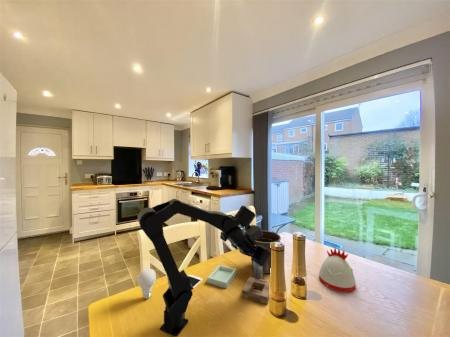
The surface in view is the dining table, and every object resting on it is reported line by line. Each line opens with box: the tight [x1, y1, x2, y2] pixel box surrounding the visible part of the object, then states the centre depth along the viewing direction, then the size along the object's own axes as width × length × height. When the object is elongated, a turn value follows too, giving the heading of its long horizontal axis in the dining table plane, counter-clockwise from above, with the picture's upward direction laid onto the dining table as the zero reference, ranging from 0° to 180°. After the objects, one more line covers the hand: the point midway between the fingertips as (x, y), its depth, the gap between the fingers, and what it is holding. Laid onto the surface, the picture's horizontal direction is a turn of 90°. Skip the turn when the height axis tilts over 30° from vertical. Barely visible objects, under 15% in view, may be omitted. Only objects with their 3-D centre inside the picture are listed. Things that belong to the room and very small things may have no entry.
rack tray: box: [206, 264, 238, 289], centre depth 88 cm, size 12×9×2 cm
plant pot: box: [250, 230, 282, 275], centre depth 97 cm, size 16×16×16 cm
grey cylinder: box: [252, 245, 263, 280], centre depth 78 cm, size 4×4×12 cm
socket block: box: [241, 276, 270, 305], centre depth 78 cm, size 10×10×2 cm
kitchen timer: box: [318, 247, 356, 293], centre depth 86 cm, size 14×14×15 cm
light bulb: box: [137, 268, 157, 299], centre depth 74 cm, size 7×7×11 cm
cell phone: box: [187, 274, 204, 289], centre depth 82 cm, size 8×16×1 cm, turn 152°
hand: (260, 259), depth 78 cm, fingers closed on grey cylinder, 4 cm apart
